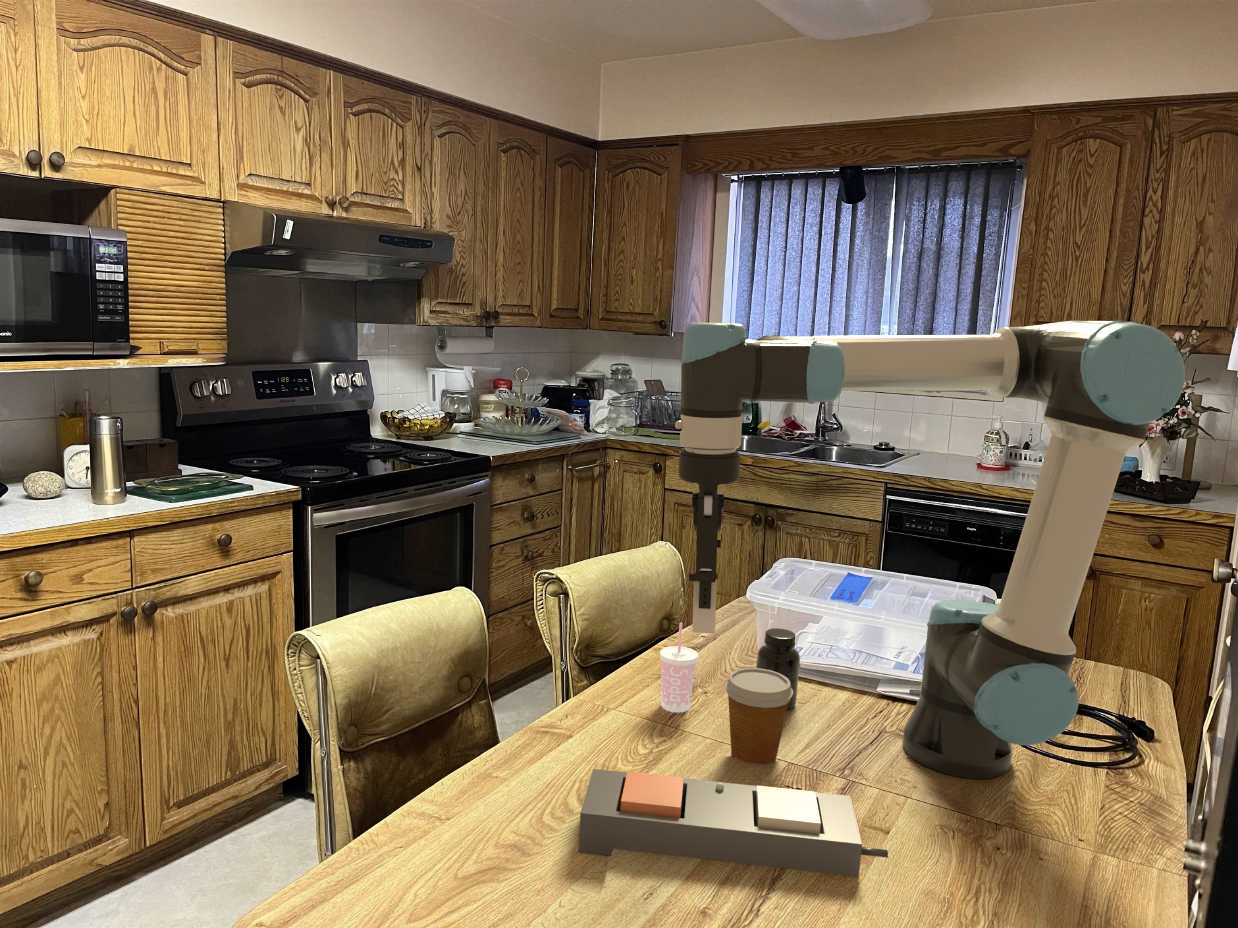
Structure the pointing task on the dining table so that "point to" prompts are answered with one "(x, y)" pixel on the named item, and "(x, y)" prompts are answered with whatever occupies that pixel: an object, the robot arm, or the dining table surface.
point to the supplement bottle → (781, 657)
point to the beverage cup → (677, 676)
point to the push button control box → (721, 828)
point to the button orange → (652, 794)
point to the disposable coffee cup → (757, 713)
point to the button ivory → (786, 809)
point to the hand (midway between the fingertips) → (704, 613)
